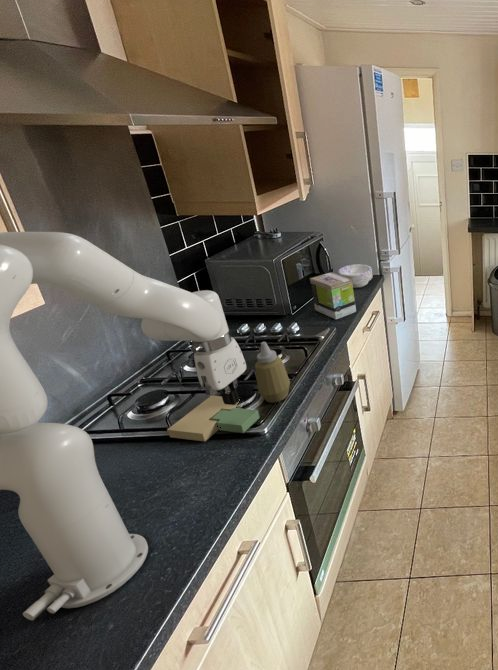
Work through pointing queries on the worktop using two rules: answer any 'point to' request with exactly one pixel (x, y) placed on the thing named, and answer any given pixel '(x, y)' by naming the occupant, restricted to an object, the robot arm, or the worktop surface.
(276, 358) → the squeeze bottle
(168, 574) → the worktop surface
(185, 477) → the worktop surface
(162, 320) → the robot arm
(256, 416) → the green pad
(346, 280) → the tea box
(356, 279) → the paper bowls
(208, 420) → the beige pad
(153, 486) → the worktop surface
